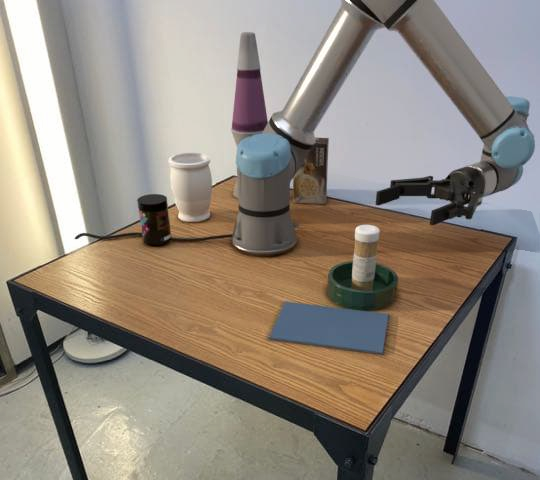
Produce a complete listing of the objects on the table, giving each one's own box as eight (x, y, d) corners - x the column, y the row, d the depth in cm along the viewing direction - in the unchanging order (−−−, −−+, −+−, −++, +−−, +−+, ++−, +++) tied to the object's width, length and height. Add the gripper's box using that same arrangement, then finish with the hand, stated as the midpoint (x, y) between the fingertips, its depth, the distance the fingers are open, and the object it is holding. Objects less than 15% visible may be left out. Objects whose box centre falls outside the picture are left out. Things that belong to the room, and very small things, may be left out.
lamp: (275, 198, 159) (275, 34, 135) (237, 202, 156) (231, 36, 133) (264, 186, 167) (263, 29, 144) (229, 189, 165) (221, 31, 141)
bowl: (322, 306, 110) (323, 288, 108) (332, 274, 121) (334, 257, 118) (392, 314, 107) (395, 296, 105) (397, 281, 118) (400, 264, 116)
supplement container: (153, 234, 139) (147, 192, 133) (177, 238, 137) (172, 196, 130) (137, 245, 134) (131, 202, 127) (162, 249, 131) (157, 206, 125)
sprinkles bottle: (366, 284, 116) (372, 222, 108) (376, 295, 113) (384, 231, 105) (345, 288, 115) (351, 225, 107) (356, 299, 111) (362, 234, 104)
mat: (268, 339, 101) (268, 337, 100) (285, 303, 111) (285, 301, 111) (382, 354, 97) (382, 352, 96) (388, 316, 107) (388, 313, 107)
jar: (211, 224, 143) (207, 164, 135) (171, 224, 144) (164, 164, 135) (216, 209, 152) (212, 151, 143) (177, 209, 152) (171, 151, 143)
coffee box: (327, 196, 159) (330, 137, 150) (325, 205, 154) (328, 144, 145) (294, 195, 161) (296, 136, 151) (291, 203, 155) (292, 142, 146)
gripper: (518, 217, 115) (454, 246, 104) (420, 186, 131) (355, 208, 120) (527, 181, 111) (461, 206, 100) (424, 153, 126) (358, 173, 116)
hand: (403, 208), depth 110 cm, fingers open, 13 cm apart
